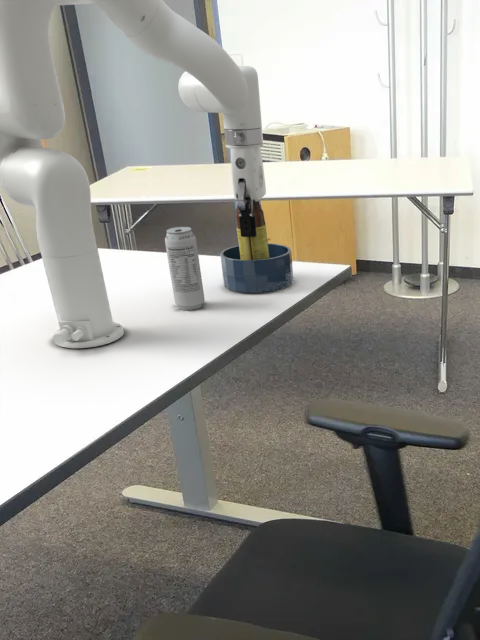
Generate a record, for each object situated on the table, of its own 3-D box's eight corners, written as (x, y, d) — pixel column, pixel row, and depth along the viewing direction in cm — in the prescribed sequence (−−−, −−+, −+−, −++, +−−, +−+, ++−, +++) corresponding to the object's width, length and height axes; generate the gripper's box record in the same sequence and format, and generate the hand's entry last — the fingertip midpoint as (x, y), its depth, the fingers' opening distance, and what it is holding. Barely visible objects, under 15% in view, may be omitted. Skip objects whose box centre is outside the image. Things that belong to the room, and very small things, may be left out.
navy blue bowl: (286, 294, 162) (284, 260, 159) (216, 294, 164) (212, 260, 160) (298, 274, 175) (296, 242, 171) (233, 275, 176) (229, 243, 172)
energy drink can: (207, 301, 160) (197, 225, 151) (202, 310, 155) (190, 232, 146) (179, 302, 160) (167, 226, 152) (172, 311, 155) (159, 233, 147)
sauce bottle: (273, 272, 170) (266, 174, 159) (268, 279, 165) (259, 179, 154) (244, 272, 171) (235, 174, 160) (238, 279, 166) (228, 179, 155)
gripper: (253, 143, 146) (261, 242, 156) (270, 133, 160) (277, 224, 170) (214, 143, 146) (225, 242, 156) (235, 134, 161) (244, 224, 171)
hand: (252, 232), depth 163 cm, fingers closed on sauce bottle, 6 cm apart
